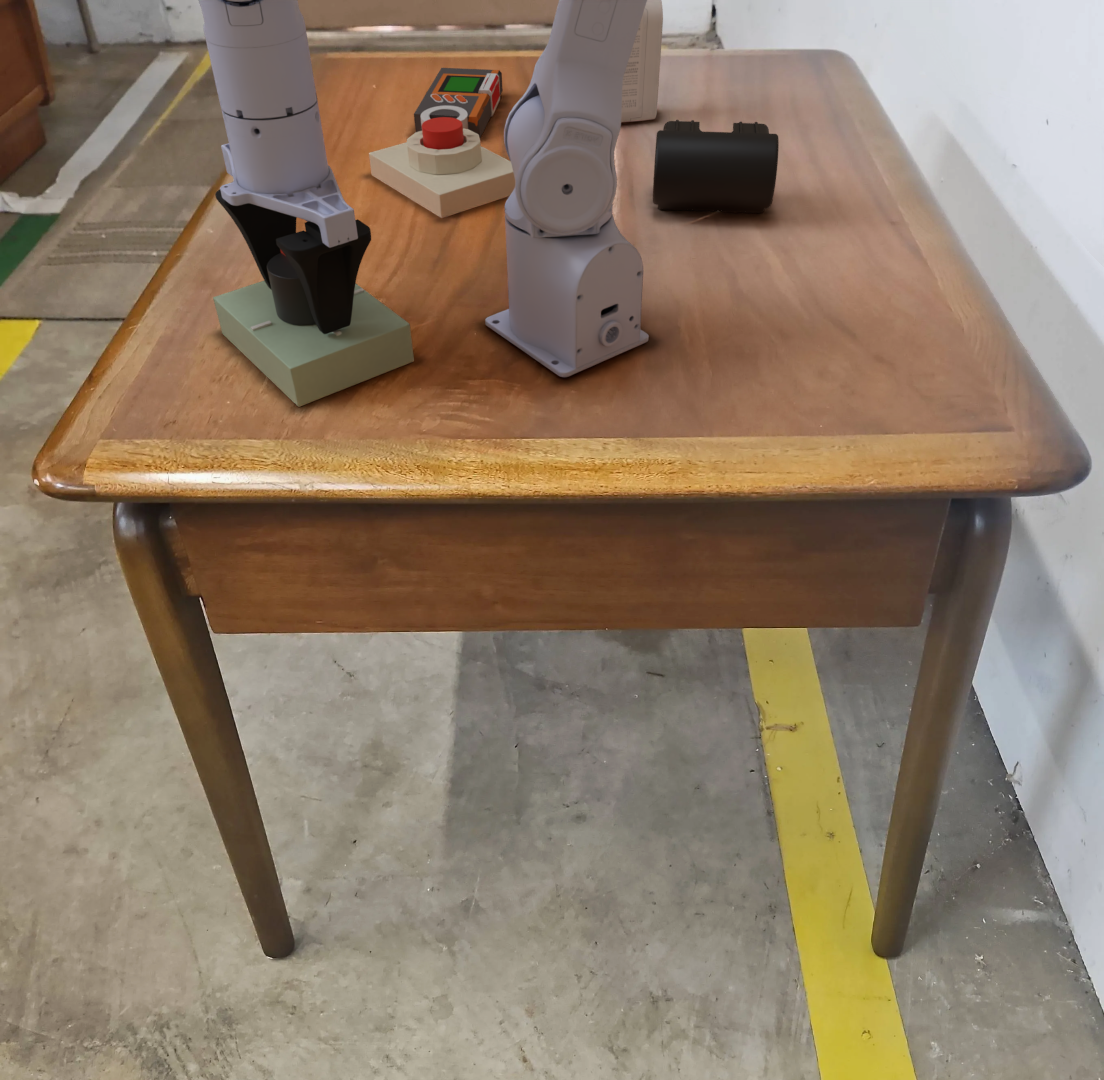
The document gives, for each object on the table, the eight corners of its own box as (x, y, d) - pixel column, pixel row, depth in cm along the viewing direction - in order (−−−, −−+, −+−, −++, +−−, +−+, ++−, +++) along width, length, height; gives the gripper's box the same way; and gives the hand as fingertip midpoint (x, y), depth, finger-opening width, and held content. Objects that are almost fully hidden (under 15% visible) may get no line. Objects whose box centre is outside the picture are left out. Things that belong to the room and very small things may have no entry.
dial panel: (414, 361, 71) (409, 321, 69) (298, 407, 67) (289, 366, 65) (331, 295, 78) (324, 257, 76) (221, 334, 74) (211, 294, 72)
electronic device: (407, 120, 99) (441, 62, 110) (410, 149, 101) (444, 90, 112) (475, 123, 98) (503, 65, 109) (477, 153, 100) (504, 93, 111)
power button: (471, 145, 91) (470, 125, 90) (437, 155, 89) (436, 134, 88) (449, 133, 93) (447, 113, 92) (415, 142, 92) (413, 123, 90)
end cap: (651, 223, 87) (655, 144, 83) (654, 189, 92) (658, 112, 88) (769, 228, 86) (780, 148, 82) (766, 193, 91) (776, 116, 87)
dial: (353, 310, 70) (344, 260, 68) (296, 332, 68) (286, 280, 66) (320, 287, 73) (311, 237, 70) (265, 307, 71) (254, 257, 68)
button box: (525, 192, 92) (523, 147, 90) (441, 219, 88) (437, 173, 85) (451, 152, 99) (448, 110, 97) (371, 176, 95) (365, 132, 93)
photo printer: (650, 107, 108) (657, -23, 99) (662, 122, 105) (670, -12, 96) (555, 116, 106) (554, -15, 98) (565, 131, 103) (565, -4, 95)
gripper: (159, 86, 64) (210, 283, 73) (261, 155, 55) (305, 369, 64) (262, 63, 67) (299, 255, 76) (374, 125, 58) (401, 333, 68)
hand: (308, 305), depth 71 cm, fingers open, 7 cm apart
